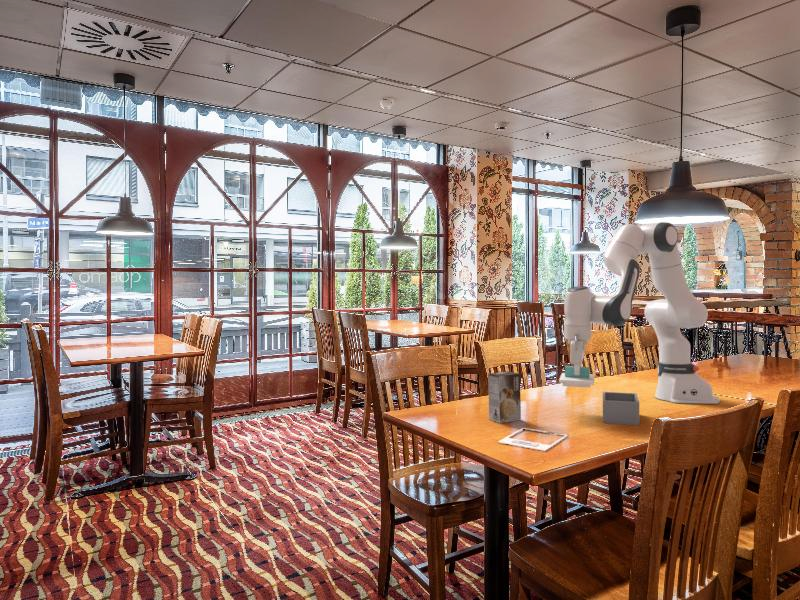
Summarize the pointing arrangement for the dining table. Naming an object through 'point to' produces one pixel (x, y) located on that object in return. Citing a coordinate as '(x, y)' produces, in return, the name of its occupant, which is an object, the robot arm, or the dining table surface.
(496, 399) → the coffee box
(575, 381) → the lid
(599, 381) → the dining table surface
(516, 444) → the photo frame
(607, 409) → the tub
